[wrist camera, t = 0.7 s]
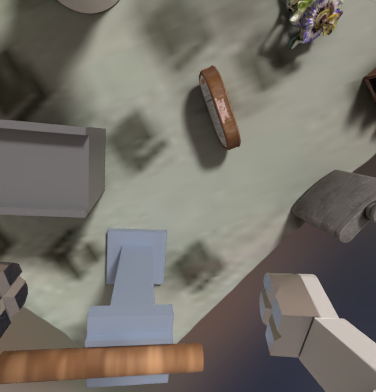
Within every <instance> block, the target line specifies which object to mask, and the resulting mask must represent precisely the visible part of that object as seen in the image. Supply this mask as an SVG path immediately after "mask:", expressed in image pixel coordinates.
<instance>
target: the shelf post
mask: <svg viewBox="0 0 376 392" xmlns="http://www.w3.org/2000/svg"><path fill="white" fill-rule="evenodd" d="M166 239H167V231H166V230H139V229H108V239H107V280H106V285H114V289H113V294H112V299H111V304H110V306H90V309H89V312H88V316H87V336H86V340H85V347H87V348H89V347H113V346H136V345H159V344H173V333H172V330H173V319H174V312H173V306H172V304H171V305H155V298H154V284H163V278H164V265H165V252H166ZM168 375H169V374H155V375H139V376H123V377H107V378H91V379H87V388H92V387H106V386H121V385H135V384H151V383H165V382H168Z"/></svg>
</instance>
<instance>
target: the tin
mask: <svg viewBox="0 0 376 392" xmlns="http://www.w3.org/2000/svg"><path fill="white" fill-rule="evenodd" d="M199 82H200V87H201V91H202V94H203V97H204V100H205V103H206V106H207V109H208V112H209V115H210V118H211V121H212V123H213V126H214V129H215V132H216V134H217V137H218V139H219V141H220V143H221V144H222V146H223V147H224V148H225V149H227V150H230V149H233V148H235V147H239V146H240V143H241V140H240V134H239V130H238V126H237V123H236V120H235V117H234V114H233V111H232V108H231V105H230V101H229V98H228V95H227V92H226V89H225V86H224V83H223V80H222V78H221V76H220V74H219V72H218V70H217V69H216V67H215V66H211V67H209V68H207V69H204V70H202V71H201V72H200V75H199Z"/></svg>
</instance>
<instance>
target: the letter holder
mask: <svg viewBox="0 0 376 392" xmlns="http://www.w3.org/2000/svg"><path fill="white" fill-rule="evenodd" d="M364 81H365V83H366V85H367V87H368V89H369V91H370V93H371V95H372V97H373V99H374V101H375V103H376V68H375V69H374V70H373V71H371V72H370V73H369V74H368V75H366V76H365V77H364Z"/></svg>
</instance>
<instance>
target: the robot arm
mask: <svg viewBox="0 0 376 392" xmlns="http://www.w3.org/2000/svg"><path fill="white" fill-rule="evenodd" d="M58 1H59V2H60V3H62V4H63V5H65V6H66V7H68V8H70V9H72V10H74V11H77V12H81V13H99V12H102V11H105V10H107V9H109V8H110V7H112V6H113V5H114V4H115V3H116V2H117V1H118V0H58ZM21 273H22V270H21V268H20V266H19V264H17V263H10V262H0V338H1V337H2V335H3V334H4V333H5V331H6V330H7V328H8V327H9V325H10V324H11V316H12V315H14V314H15V313H17V312H18V311H20V309H21V308H22V306H23V305H24V303H25V301H26V298H27V295H28V286H27V284H26V281H25V280H23V279H22V278H21V277H20V274H21ZM263 283H264V286H265V289H264V290H262V291H261V296H260V313H261V318H262V322H263V323H264V324H265V325H266V326H267V330H266V339H267V343H268V347H269V351H270V355H274V356H286V357H299V360H300V361H301V362H302V363H303V365H304V366H305V367H306V368H307V369H308V371H309V372H310V373H311V374H312V376H313V377H314V378H315V379H316V380H317V382H318V383H319V384H320V385H321V387H322V388H323V389H324V390H325V392H376V343H375V342H373V341H372V340H371V339H369V338H368V337H367V336H366V335H364V334H363V333H362V332H360V331H359V330H358V329H357V328H355V327H354V326H353V325H351V324H350V323H349V322H348V321H346V320H345V319H339V317H338V316H337V314H336V312H335V310H334V309H333V306H332V304H331V303H330V301H329V299H328V297H327V295H326V293H325V292H324V290H323V288H322V286H321V284H320V282H319V280H318V279H317V277H316V276H315V275H314V274H282V273H266V275H265V276H264V281H263Z"/></svg>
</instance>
